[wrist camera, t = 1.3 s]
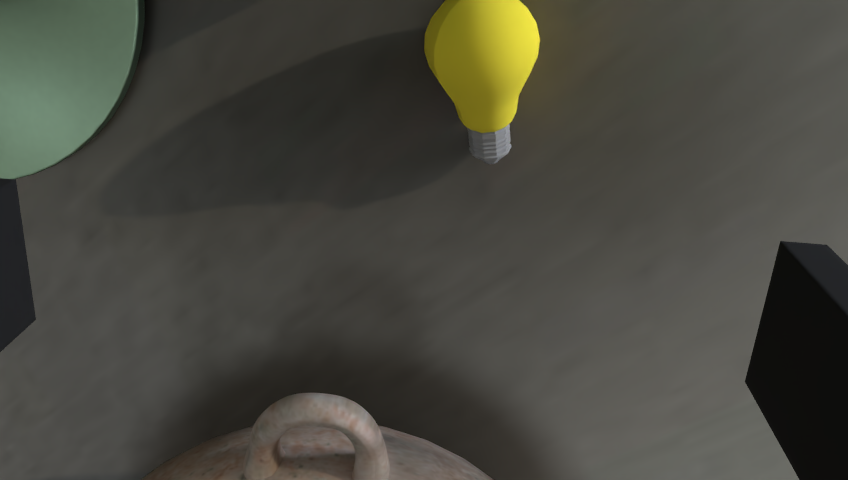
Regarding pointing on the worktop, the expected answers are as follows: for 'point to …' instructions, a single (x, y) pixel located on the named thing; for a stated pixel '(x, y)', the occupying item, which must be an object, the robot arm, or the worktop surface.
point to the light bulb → (483, 66)
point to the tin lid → (62, 75)
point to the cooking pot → (316, 448)
